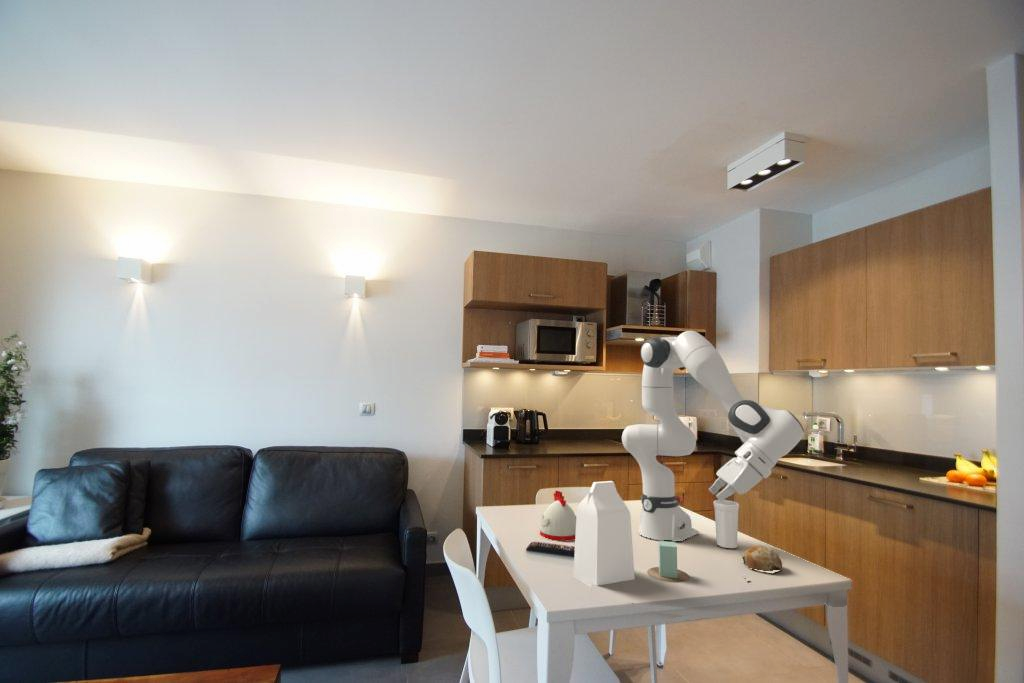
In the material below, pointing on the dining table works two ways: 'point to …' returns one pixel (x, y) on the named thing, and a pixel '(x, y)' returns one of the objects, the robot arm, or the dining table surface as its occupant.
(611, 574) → the milk
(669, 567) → the mint rectangular pillar
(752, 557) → the bread roll
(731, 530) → the cup
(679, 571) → the post stand
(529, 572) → the dining table surface
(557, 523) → the kitchen timer
